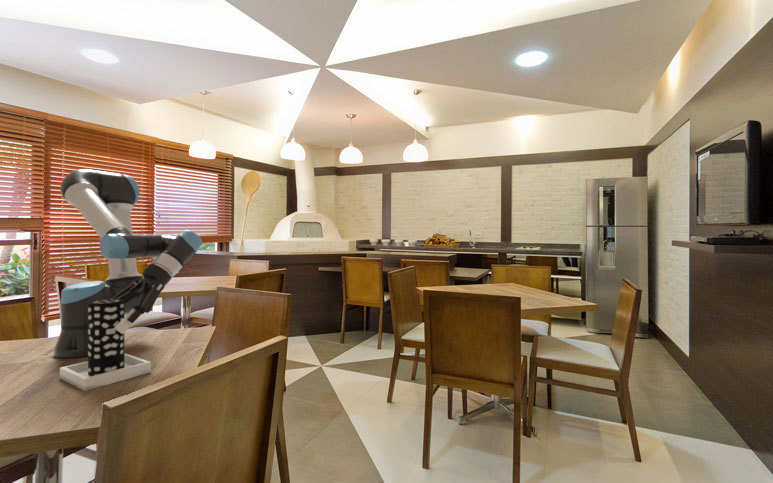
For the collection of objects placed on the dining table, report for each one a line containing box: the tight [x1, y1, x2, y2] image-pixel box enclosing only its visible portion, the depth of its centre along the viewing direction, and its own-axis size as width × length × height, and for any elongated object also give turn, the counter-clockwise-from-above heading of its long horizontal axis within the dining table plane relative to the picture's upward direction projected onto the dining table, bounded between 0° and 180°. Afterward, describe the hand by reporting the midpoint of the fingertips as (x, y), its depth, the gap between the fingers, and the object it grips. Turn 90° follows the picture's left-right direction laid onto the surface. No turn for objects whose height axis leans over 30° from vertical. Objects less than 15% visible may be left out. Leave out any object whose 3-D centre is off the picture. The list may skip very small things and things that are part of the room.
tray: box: [59, 352, 152, 392], centre depth 107 cm, size 16×16×3 cm
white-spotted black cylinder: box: [87, 299, 126, 376], centre depth 107 cm, size 8×8×20 cm
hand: (107, 328), depth 107 cm, fingers open, 13 cm apart
